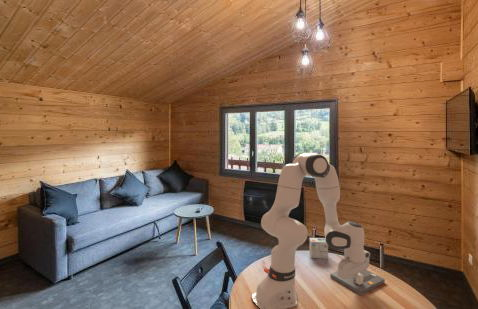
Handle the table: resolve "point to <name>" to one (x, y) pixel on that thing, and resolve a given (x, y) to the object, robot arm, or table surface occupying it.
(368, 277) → the panel
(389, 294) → the table surface
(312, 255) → the light bulb box
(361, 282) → the block
